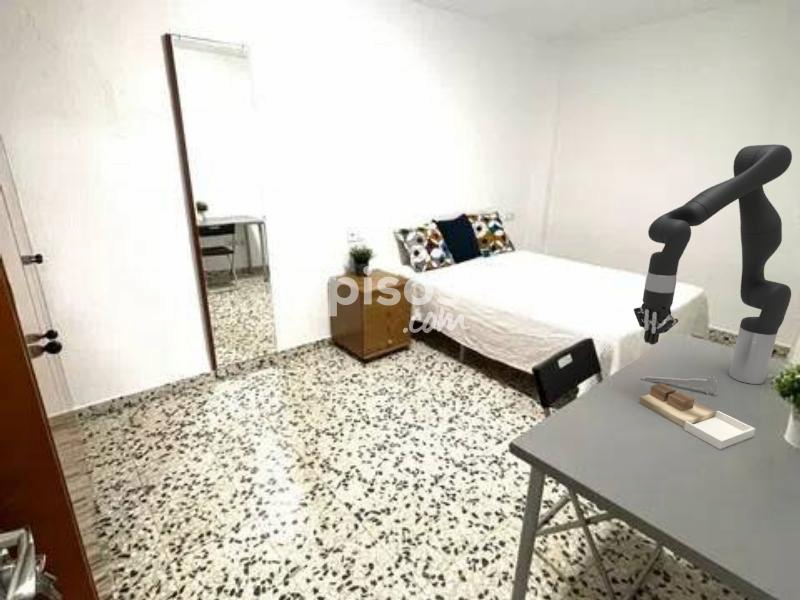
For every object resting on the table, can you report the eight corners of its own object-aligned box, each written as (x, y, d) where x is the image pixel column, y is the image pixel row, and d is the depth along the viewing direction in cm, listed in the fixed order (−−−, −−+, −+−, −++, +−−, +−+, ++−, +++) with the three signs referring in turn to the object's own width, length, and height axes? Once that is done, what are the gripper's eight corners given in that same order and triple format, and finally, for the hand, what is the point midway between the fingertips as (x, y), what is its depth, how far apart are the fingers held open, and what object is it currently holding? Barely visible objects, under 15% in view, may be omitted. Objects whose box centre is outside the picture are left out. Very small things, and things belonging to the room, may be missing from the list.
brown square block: (660, 391, 126) (662, 382, 126) (674, 398, 122) (676, 389, 122) (649, 394, 125) (651, 385, 124) (663, 401, 121) (665, 392, 120)
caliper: (715, 395, 128) (719, 377, 126) (715, 397, 127) (719, 379, 125) (640, 378, 139) (643, 361, 137) (640, 380, 138) (643, 363, 136)
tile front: (677, 400, 122) (679, 391, 121) (692, 408, 118) (694, 398, 117) (666, 403, 120) (668, 394, 119) (681, 411, 116) (683, 402, 115)
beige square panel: (667, 394, 129) (668, 388, 128) (713, 417, 116) (715, 411, 115) (639, 402, 124) (640, 396, 124) (684, 428, 112) (685, 421, 111)
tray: (716, 418, 116) (718, 410, 115) (753, 436, 108) (755, 428, 107) (683, 429, 112) (685, 421, 111) (719, 449, 103) (721, 441, 103)
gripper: (691, 292, 115) (680, 349, 120) (648, 281, 127) (639, 333, 132) (672, 295, 112) (662, 353, 118) (630, 284, 124) (622, 337, 130)
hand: (650, 342), depth 125 cm, fingers closed
